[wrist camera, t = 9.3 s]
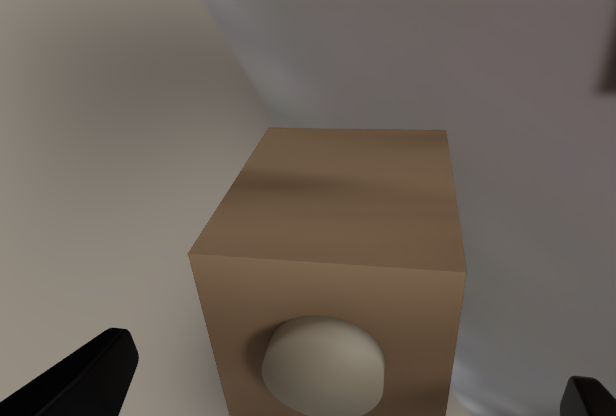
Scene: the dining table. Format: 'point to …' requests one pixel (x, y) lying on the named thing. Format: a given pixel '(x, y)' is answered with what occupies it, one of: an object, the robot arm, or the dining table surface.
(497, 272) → the dining table surface
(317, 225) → the cap block
